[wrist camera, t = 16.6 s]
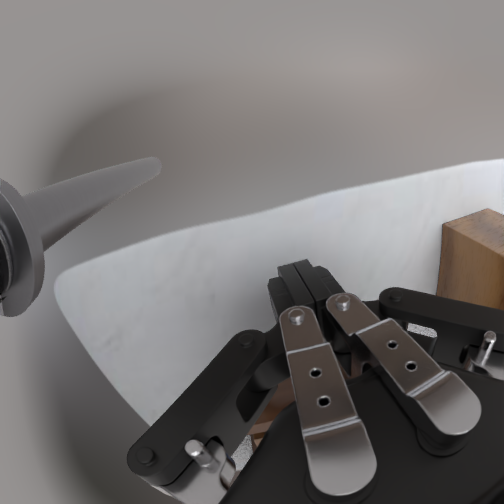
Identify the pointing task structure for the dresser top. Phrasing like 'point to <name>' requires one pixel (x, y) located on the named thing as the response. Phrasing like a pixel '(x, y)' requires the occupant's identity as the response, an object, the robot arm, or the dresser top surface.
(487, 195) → the dresser top surface
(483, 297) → the stand
